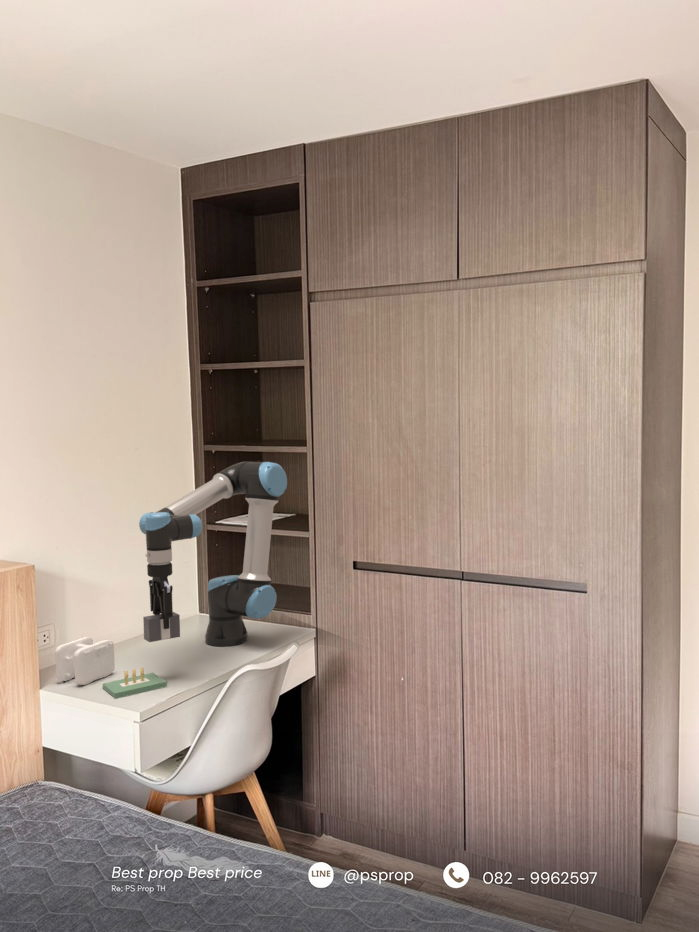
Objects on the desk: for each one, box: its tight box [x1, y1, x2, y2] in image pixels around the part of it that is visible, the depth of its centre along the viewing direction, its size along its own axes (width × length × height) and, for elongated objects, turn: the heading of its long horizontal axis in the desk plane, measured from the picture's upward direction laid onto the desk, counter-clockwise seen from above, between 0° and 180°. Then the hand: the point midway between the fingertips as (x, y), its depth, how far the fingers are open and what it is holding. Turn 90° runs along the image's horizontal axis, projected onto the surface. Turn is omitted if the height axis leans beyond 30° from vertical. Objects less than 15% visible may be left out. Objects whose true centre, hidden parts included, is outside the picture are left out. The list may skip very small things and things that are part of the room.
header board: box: [102, 667, 168, 699], centre depth 255 cm, size 16×11×6 cm
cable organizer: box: [54, 636, 116, 686], centre depth 265 cm, size 15×11×12 cm
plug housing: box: [142, 611, 181, 643], centre depth 262 cm, size 10×4×7 cm, turn 125°
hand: (162, 636), depth 262 cm, fingers closed on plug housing, 4 cm apart
